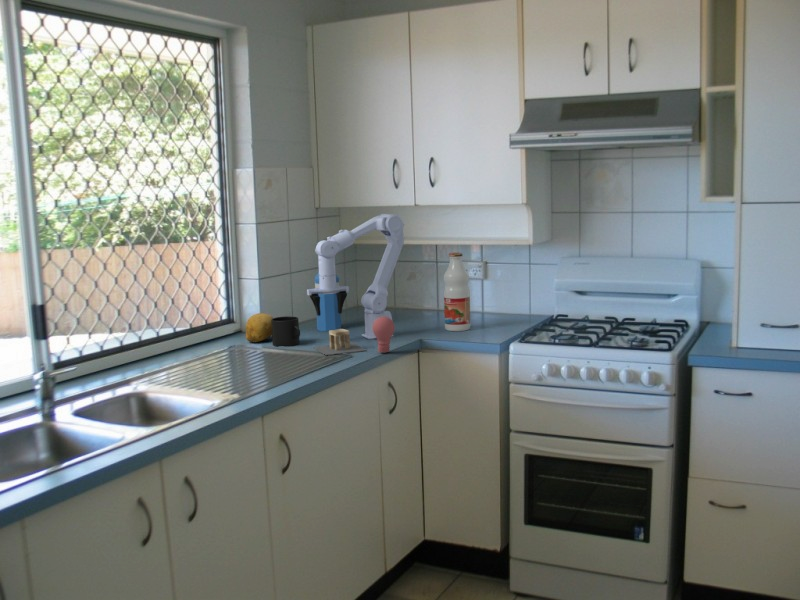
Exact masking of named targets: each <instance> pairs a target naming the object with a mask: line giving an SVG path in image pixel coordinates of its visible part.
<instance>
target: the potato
mask: <svg viewBox="0 0 800 600" xmlns="http://www.w3.org/2000/svg"><path fill="white" fill-rule="evenodd" d="M273 318H274V317H273V316H272V315H271V314H267V313H264V312H258V313H254V314H252V315H250V317H249V318H248V319H247V321H246V324H245V339H246V340H247V341H248V342H250V343H257V342H263V341H264V340H267V339H269V338H270V337H272V327H271V319H273Z"/></svg>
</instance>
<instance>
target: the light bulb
mask: <svg viewBox="0 0 800 600" xmlns="http://www.w3.org/2000/svg"><path fill="white" fill-rule="evenodd" d="M395 329H396V328H395V323H394V321H393V319H392V320H391V319H390V318H388V317H379V318H377V319H376V320H375V321H374V323H373V332H374V334H375V336H376V338H375V339H377V344H378V345H377V350H378V353H381V354H386V353H388V352H390V347H391V346H390V344H391V340H392V337H393V336H394V332H395ZM392 335H393V336H392Z"/></svg>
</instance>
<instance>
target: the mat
mask: <svg viewBox="0 0 800 600" xmlns="http://www.w3.org/2000/svg"><path fill="white" fill-rule="evenodd" d="M339 345H340V343H339ZM313 349H314V350H316V351H318V352H319V353H320V354H322V353H323V354H322V355H324V354H325V355H330V356H333V355H332V354H338V355H344V354H343V353H347V354H354V353H362V352H363V353H364V352H367V351H368V350H367V349H366V348H364V347H362V346H360V345H359V344H356V343H354V342H350V349H345V347H340V350H338V351H336V350H335V348H334V349H331V348H330V344H329V345H319V346H313ZM325 355H324V356H325Z"/></svg>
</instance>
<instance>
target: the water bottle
mask: <svg viewBox="0 0 800 600" xmlns="http://www.w3.org/2000/svg"><path fill="white" fill-rule="evenodd" d="M337 286H340V278H339V276H338V275H337V274H336V287H337ZM315 288H320V284H319V271H318V273H317V274H316V275H315V277H314V289H315ZM326 292H332V291H326ZM320 293H321V292H320ZM318 295H319V297H320V316H318V315H317V314H316V328H317V331H319V332H329V331H330V330H337V329H342V317H341V314H342V313H341V314H340V313H338V302H337V295H336V293H328V294H318Z"/></svg>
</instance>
